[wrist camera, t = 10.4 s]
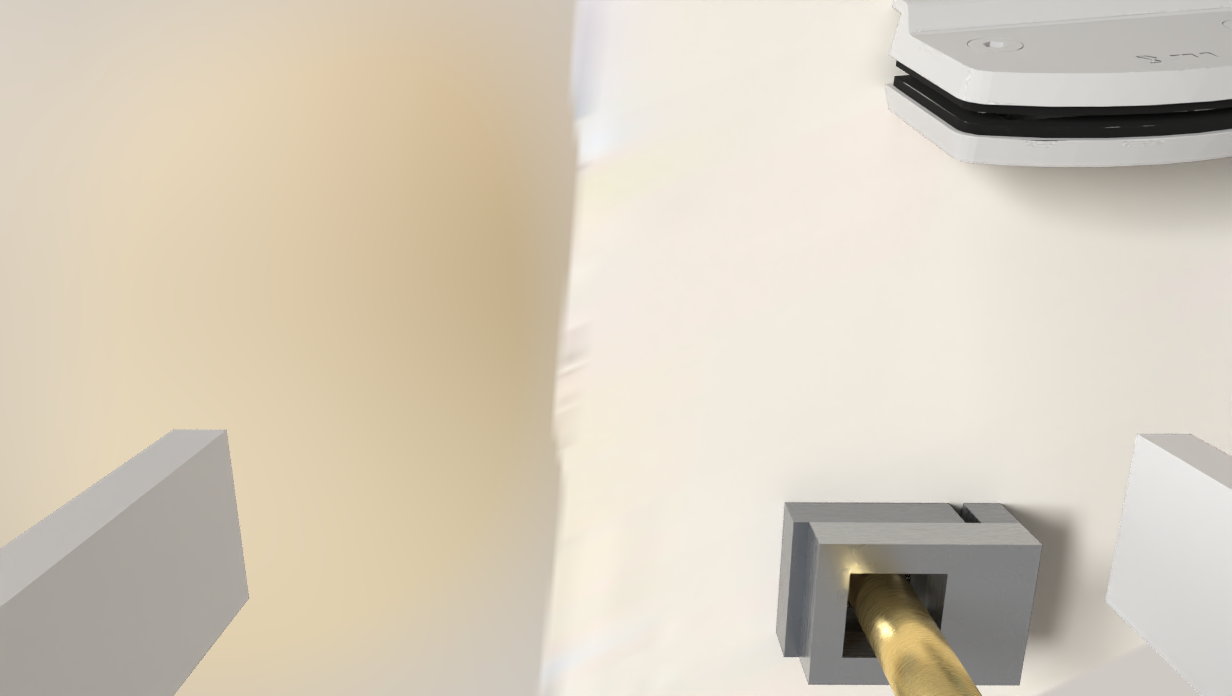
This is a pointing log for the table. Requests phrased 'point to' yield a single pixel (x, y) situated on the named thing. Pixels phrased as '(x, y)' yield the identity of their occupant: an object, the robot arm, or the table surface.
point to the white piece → (1066, 80)
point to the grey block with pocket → (940, 575)
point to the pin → (906, 638)
